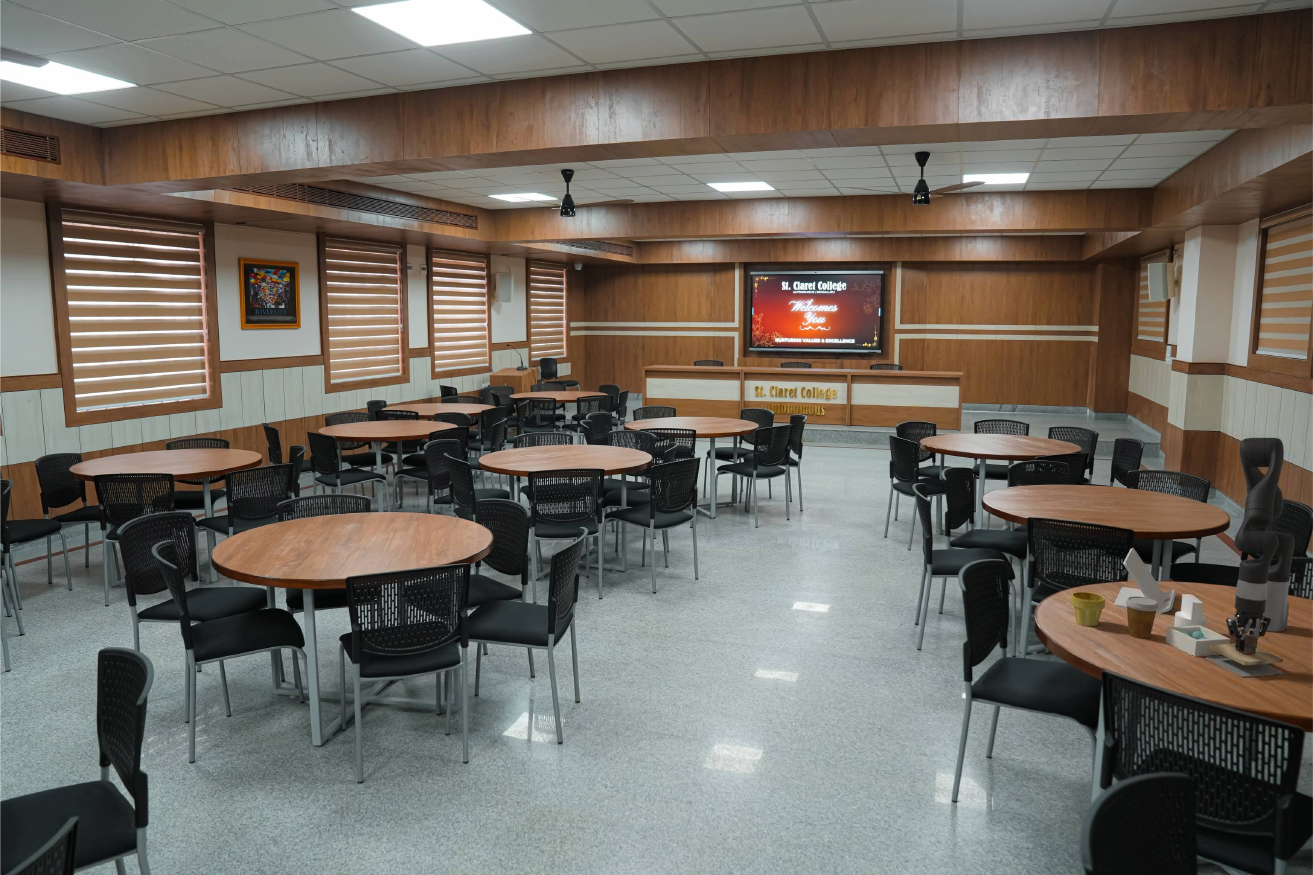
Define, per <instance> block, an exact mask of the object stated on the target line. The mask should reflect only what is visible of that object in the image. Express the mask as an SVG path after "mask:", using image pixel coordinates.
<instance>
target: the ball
mask: <svg viewBox="0 0 1313 875" xmlns="http://www.w3.org/2000/svg"><path fill="white" fill-rule="evenodd" d="M1192 638H1194V639H1196V640H1198V639H1200V638H1204V635H1203V633H1201V632H1199V631H1195V632H1193V634H1192Z"/></svg>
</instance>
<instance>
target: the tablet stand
mask: <svg viewBox="0 0 1313 875" xmlns="http://www.w3.org/2000/svg"><path fill="white" fill-rule="evenodd" d="M1122 564H1123V565H1124V566H1123V567H1125V569H1126V570H1127V572H1128V573H1129V575H1130V576H1131V578H1132V579H1133V581H1134V582H1135V584H1136V585H1137V587H1138V588H1133V587H1127V586H1122V587H1121V588H1120V591H1119V593H1118V595H1117V597H1116V599H1115V601H1114V603H1113V606H1114V605H1115V606H1114V607H1118V606H1119V607H1118V608H1124V607H1126V608H1125V609H1127V605H1126V601H1127V598H1128V597H1132V596H1139V597H1146V598H1150V599H1153V600H1155V601H1156V602H1157V605H1158V606H1159V607H1158V608H1157V610H1156V614H1159V613H1160V614H1159V615H1161V614H1164V613H1166V612H1169V611H1172V609H1173V605H1174V602H1175V597H1176V595H1177V591H1176V589H1171V590H1168V591H1166V592H1164V591H1163V590H1162V588H1161V587H1160V585H1159V584H1158V582H1157V580H1156V579H1155V578H1154V576H1153V575H1152V573H1151V572H1150V570H1149V569H1148V567H1147V566H1146V565H1145V563H1144V562H1143V560H1142V558H1141V557H1140V556H1139V554H1138V552H1137V551H1136V550H1135V548H1134V547H1132V548H1130V549H1129V552H1128V553H1127V555H1126V557H1125V558H1124V561H1123V562H1122Z"/></svg>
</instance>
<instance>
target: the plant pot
mask: <svg viewBox="0 0 1313 875" xmlns="http://www.w3.org/2000/svg"><path fill="white" fill-rule="evenodd" d="M1070 599H1071V602H1070V603H1071V605H1072V606H1073V611H1074V617H1075V618H1074V619H1075V622H1076V623H1077V625H1081V626H1083V625H1084V627H1097V625H1098V624H1099V621H1100V618H1101V614H1102V612H1103V609H1105V606H1106V598H1105V596H1103V595H1102V594H1098V593H1096V592H1092V591H1091V592H1090V591H1076V592H1072V593H1071V597H1070Z"/></svg>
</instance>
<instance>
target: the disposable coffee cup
mask: <svg viewBox="0 0 1313 875" xmlns="http://www.w3.org/2000/svg"><path fill="white" fill-rule="evenodd" d="M1126 605H1127V608H1126V612H1127V626H1128V627H1127V628H1128V629H1127V630H1128V635H1129V636H1130V637H1133V638H1137V639H1143V640H1144V639H1146V640H1147V639H1150V638H1151V635H1152V631H1153V626H1154V622H1155V618H1156V614H1157V613H1156V610H1157V608H1158V607H1159V606H1158V605H1157V602H1156V601H1155V600H1153V599H1150V598H1146V597H1139V596H1132V597H1128V598H1127V601H1126Z"/></svg>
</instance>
